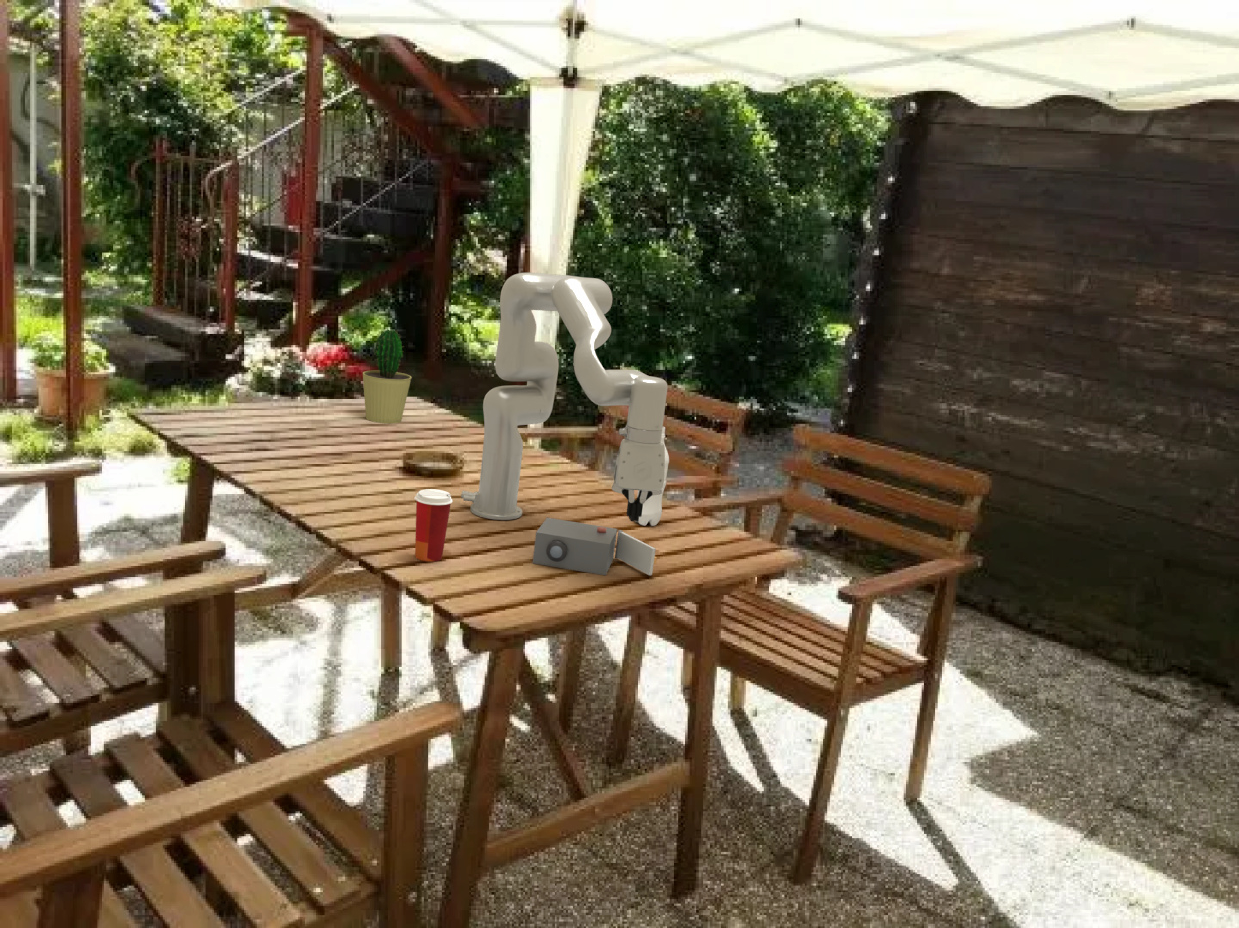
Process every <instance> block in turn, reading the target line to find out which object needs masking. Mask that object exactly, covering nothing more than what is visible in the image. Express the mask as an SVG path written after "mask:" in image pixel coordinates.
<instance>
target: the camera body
mask: <svg viewBox="0 0 1239 928" xmlns="http://www.w3.org/2000/svg"><path fill="white" fill-rule="evenodd" d="M617 536H618V528H615V527H614V528H613V527H608V526H602V525H596V524H595V525H594V524H589V523H583V522H577V521H572V520H564V519H559V518H558V519H557V518H554V517H553V518H551V517H546V518H545V520H544V521H543V523H542V524H541V525H540V526H539V528H538V529H537V531H536V532H535V538H534V539H535V540H534V545H533V546H534V548H533V556H532V564H536V565H540V566H541V565H542V566H547V567H552V568H553V567H554V568H560V569H565V570H571V571H577V572H583V573H589V574H595V575H600V576H601V575H602V576H606V575H607V573H608V571H609V569H610V566H611V565H612V562H613V560H614V558H615V551H616V543H617Z"/></svg>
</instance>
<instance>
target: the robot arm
mask: <svg viewBox="0 0 1239 928" xmlns="http://www.w3.org/2000/svg"><path fill="white" fill-rule="evenodd" d="M499 301H500V303H499V305H500V327H499V332H498V337H497V338H498V340H497V345H496V346H497V347H496V354H495V364H494V367H495V372H496V375H497V376H498V377H499V378H500V379H501V380H503V381H505V382H506V381H507V382H526V385H520V384H519V385H501V386H500V385H499V386H496V387H493V388H492V389H490V390H489V391H488V392H487V393H486V394H485V396H484V398H483V401H482V402H483V404H482V409H483V421H484V431H483V432H484V433H483V446H482V455H481V464H480V465H481V466H480V475H479V484H478V485H479V486H478V491H474V492H472V491H467V490H462V491H461V495H460V497H461V499H463V501H466V502H472V504H470V511H471V513H472V514H473V515H476V516H478V517H481V518H484V519H489V520H496V521H497V520H498V521H509V520H510V521H511V520H516V519H519V518H521V517H522V516H523V510H522V508H521V507H520V506H518V498H519V497H518V495H519V487H520V478H521V477H520V476H521V469H522V460H523V449H524V447H523V446H524V443H523V438H522V436H521V434H520V431H519V428H518V426H525V425H537V424H542V423H544V422H546V421H547V420H548V419H549V418H550V416H551V414H552V411H553V408H554V400H555V396H556V388H557V381H558V373H559V365H560V364H559V358H558V354H557V351H556V349H555V348H554V347H553V345H551V344H549V342H545V341H536V334H537V322H536V319H535V316H534V313H533V311H541V312H542V311H544V312H557V313H558V315H559V316H560V318H561V320H562V322H563V323H564V325H565V327H566V328H567V331H568V332H569V334H570V336H571V338H572V339H573V341H574V343H575V349H574V352H573V369H574V374H575V377H576V380H577V381H578V383H579V385H580V386H581V388H582V390H583V392H584V394H585V395H586V396H587V398H588V399H589V400H590V401H591V402H593V403H594V404H595V405H598V406H602V407H609V406H628V412H627V413H628V414H627V419H626V420H627V421H626V425H625V427H623V428H622V427H621V428H618V429H619V430H618V435H619V436H620V435H621V436H622V437H623V436H624V438H623V439H621V442H620V446H619V449H618V453H617V456H616V461H615V466H614V472H613V484H612V486H611V490H612V492H615V493H617V494H621V495H623V496H624V497H625V498H626V500H627V506H626V516H627V517H628V519H629V521H631V522H635V521H637V522H636V523H639V522H638V521H639V517H641V516H642V508H643V503H645V501H646V500H647V499H648V498H650V497H651V496H654V495H660V494H662V488H663V484H664V471H665V447H666V445H665V446H664V444H665V443H664V444H663V443H661V437H662V428H663V427H664V426H663V425H664V418H665V409H666V401H667V396H668V383H667V381H666V380H664V379H663V378H661V377H657V376H649V375H647V374H645V373H643V371H640V370H636V369H606V368H604V367H603V365H602V363H601V362H600V360H599V357H598V355H597V353H596V349H598V348H600V347H601V346H602V345H604V343H606V341H608V339H609V337H610V336H611V333H612V326H611V324H610V323H609V321H608V319H607V318H606V314H607V313H608V312H609V311H610V310H611V307H612V304H613V294H612V290H611V289H610V287H609V285H608V284H607V283H606V282H605V281H603V280H602V279H601V278H597V277H596V278H594V277H583V276H575V275H568V274H553V273H544V272H543V273H541V272H519V273H516V274H513V275H511V276H510V277H508V278H507V279H506V280H505V282H504V284H503V286H502V288H501V292H500V299H499ZM638 490H639V493H638V492H637V494H638V497H636V499H635V491H638Z"/></svg>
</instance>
